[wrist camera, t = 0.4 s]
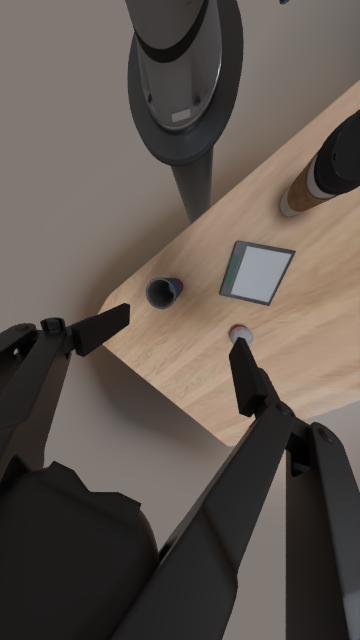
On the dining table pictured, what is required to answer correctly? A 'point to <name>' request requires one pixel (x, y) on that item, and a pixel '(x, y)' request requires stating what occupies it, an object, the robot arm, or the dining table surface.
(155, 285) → the cup
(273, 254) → the scale
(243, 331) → the figurine
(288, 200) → the coffee cup
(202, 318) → the dining table surface
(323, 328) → the dining table surface
